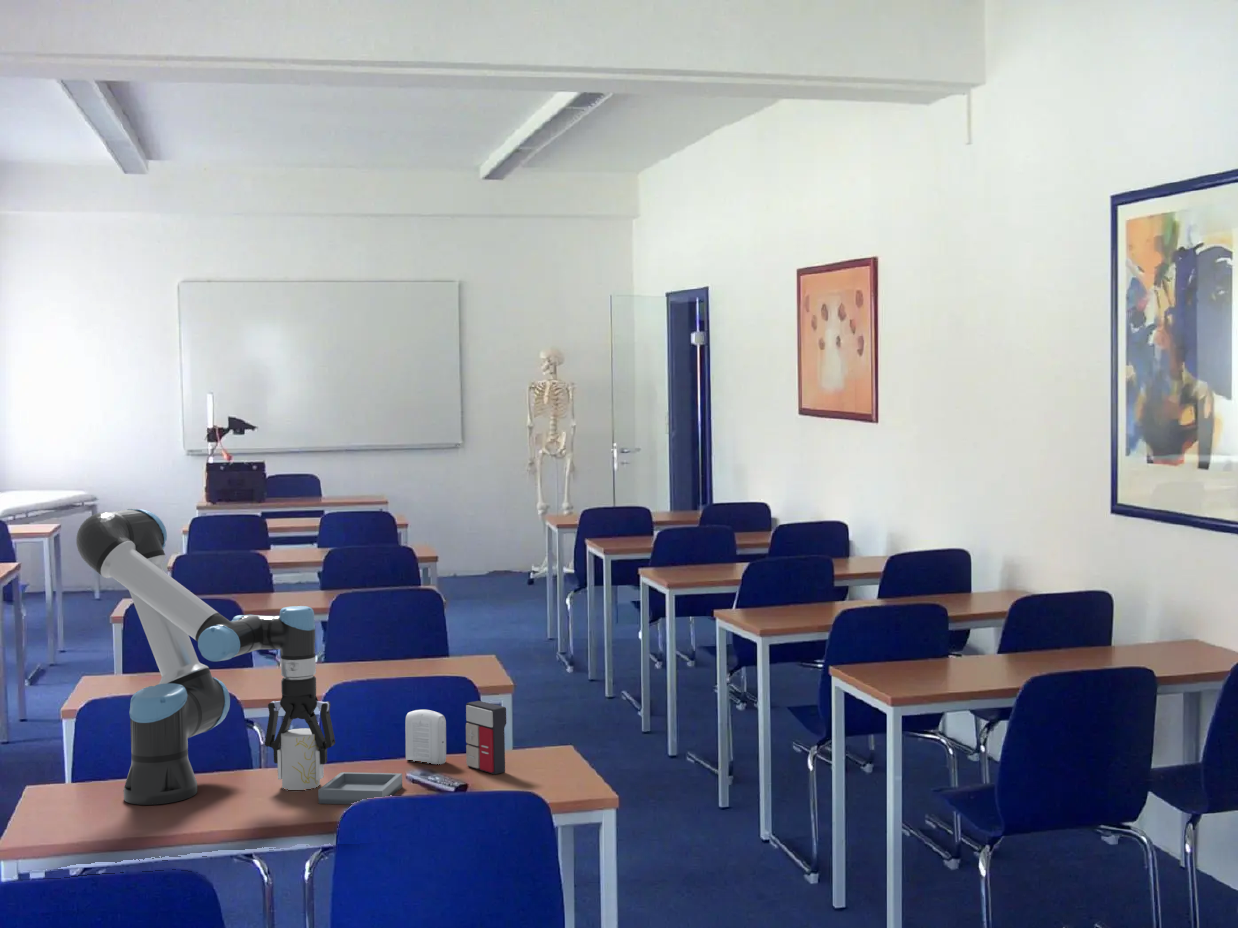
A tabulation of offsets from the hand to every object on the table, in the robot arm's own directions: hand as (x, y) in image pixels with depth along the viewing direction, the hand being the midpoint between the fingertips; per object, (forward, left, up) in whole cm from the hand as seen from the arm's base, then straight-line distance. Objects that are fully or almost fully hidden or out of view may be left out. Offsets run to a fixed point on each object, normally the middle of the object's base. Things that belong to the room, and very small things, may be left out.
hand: (300, 777), depth 289 cm
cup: (0, 0, -2) cm, 2 cm away
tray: (+16, -6, -2) cm, 17 cm away
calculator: (+38, +17, -2) cm, 42 cm away
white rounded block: (+22, +23, -2) cm, 32 cm away
